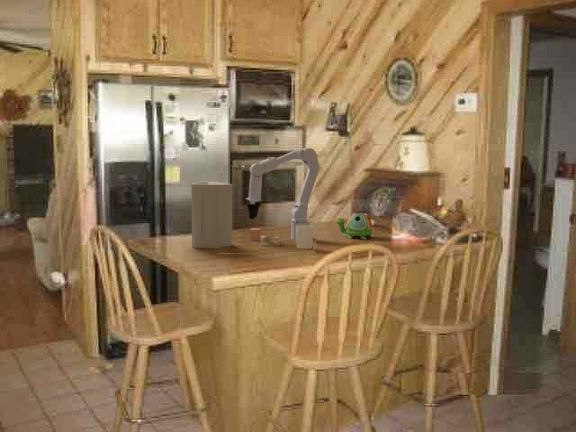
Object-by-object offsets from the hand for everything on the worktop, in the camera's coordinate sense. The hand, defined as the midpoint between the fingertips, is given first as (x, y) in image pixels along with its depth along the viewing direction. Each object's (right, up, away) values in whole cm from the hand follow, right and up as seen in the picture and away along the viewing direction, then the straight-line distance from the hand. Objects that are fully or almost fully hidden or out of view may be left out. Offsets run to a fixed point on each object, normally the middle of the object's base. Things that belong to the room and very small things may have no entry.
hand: (253, 217), depth 281 cm
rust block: (+1, -10, +1) cm, 10 cm away
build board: (+6, -12, -6) cm, 15 cm away
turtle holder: (+50, -10, +15) cm, 53 cm away
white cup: (+24, -14, -17) cm, 33 cm away
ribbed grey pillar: (-20, -13, -12) cm, 27 cm away
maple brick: (+8, -12, -11) cm, 18 cm away
